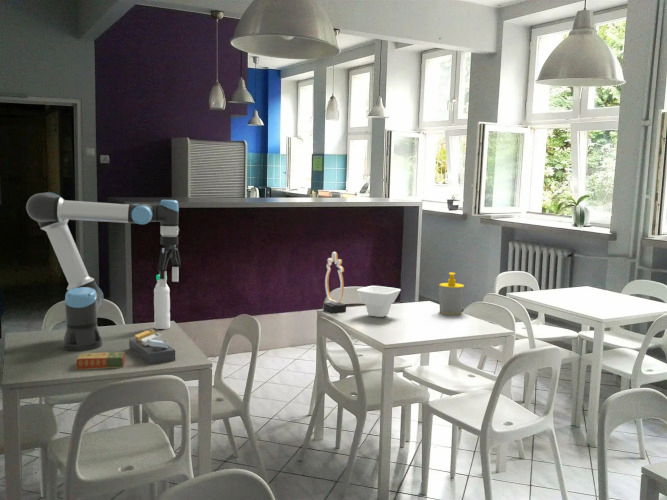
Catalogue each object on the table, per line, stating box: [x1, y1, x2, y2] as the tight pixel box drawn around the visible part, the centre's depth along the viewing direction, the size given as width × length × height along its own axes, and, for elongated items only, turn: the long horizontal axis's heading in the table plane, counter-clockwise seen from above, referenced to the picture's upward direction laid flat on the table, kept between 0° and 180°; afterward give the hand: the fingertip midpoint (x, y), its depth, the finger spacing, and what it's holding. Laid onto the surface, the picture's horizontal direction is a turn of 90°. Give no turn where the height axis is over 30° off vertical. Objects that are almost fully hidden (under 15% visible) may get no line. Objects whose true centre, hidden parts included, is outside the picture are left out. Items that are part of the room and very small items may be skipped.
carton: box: [75, 351, 126, 370], centre depth 227 cm, size 8×16×4 cm, turn 103°
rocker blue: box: [147, 339, 170, 348], centre depth 235 cm, size 7×4×2 cm, turn 125°
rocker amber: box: [134, 328, 156, 341], centre depth 247 cm, size 7×4×2 cm, turn 125°
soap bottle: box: [438, 272, 465, 315], centre depth 328 cm, size 13×13×21 cm
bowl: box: [356, 285, 401, 318], centre depth 315 cm, size 19×19×14 cm
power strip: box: [128, 337, 176, 365], centre depth 245 cm, size 10×33×5 cm, turn 35°
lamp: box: [322, 251, 347, 314], centre depth 325 cm, size 17×9×32 cm, turn 31°
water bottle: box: [153, 273, 171, 330], centre depth 283 cm, size 7×7×25 cm
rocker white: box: [141, 332, 163, 346], centre depth 241 cm, size 7×4×2 cm, turn 125°
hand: (169, 284), depth 269 cm, fingers open, 13 cm apart
